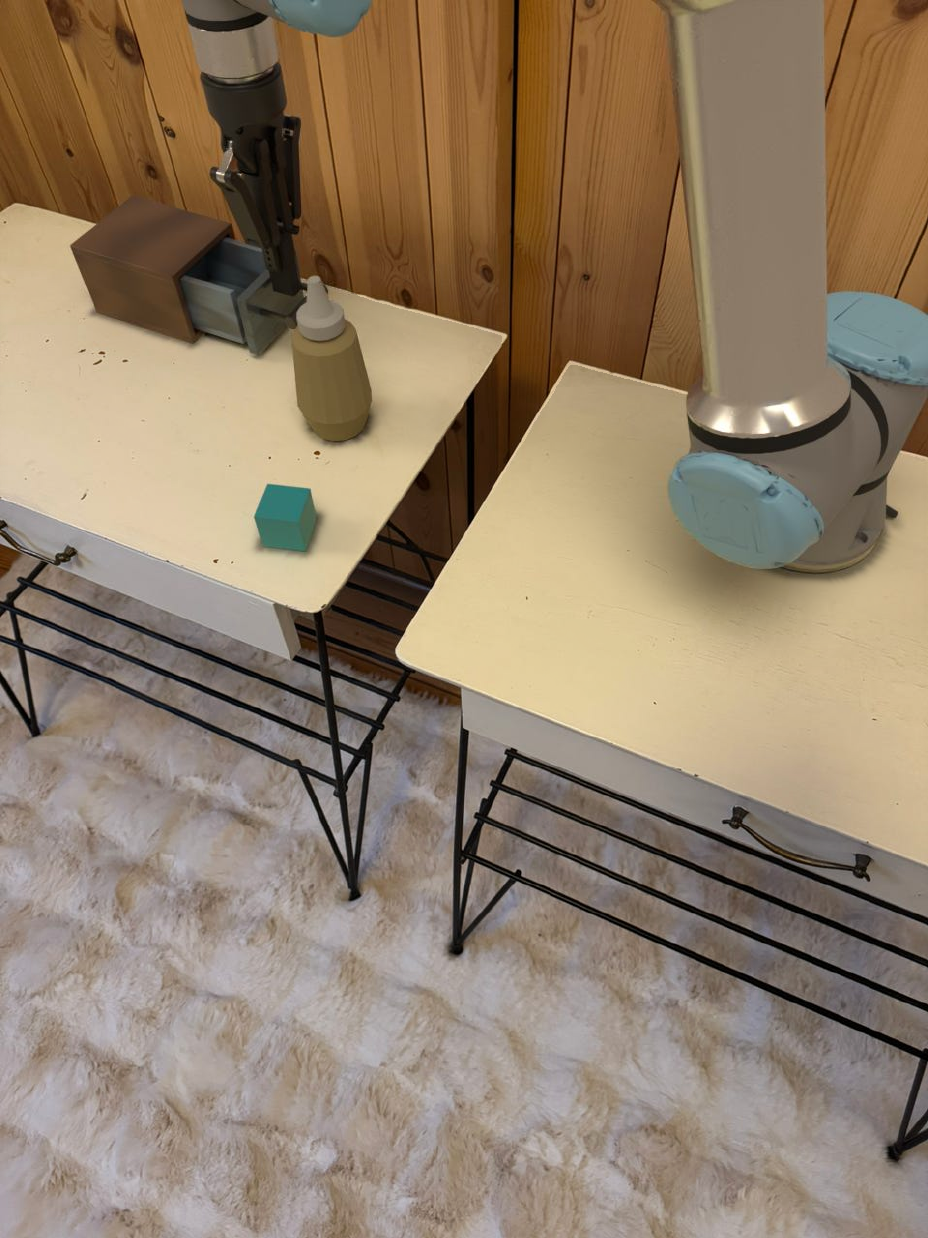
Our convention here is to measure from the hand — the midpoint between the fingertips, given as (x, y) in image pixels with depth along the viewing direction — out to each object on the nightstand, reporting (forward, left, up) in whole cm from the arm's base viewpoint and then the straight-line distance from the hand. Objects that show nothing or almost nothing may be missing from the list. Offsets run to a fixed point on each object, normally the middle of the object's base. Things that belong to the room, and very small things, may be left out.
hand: (286, 289), depth 103 cm
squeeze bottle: (-8, +13, -7) cm, 17 cm away
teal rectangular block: (-7, +29, -7) cm, 31 cm away
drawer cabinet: (+18, -5, -7) cm, 19 cm away
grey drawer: (+6, -2, -6) cm, 9 cm away
